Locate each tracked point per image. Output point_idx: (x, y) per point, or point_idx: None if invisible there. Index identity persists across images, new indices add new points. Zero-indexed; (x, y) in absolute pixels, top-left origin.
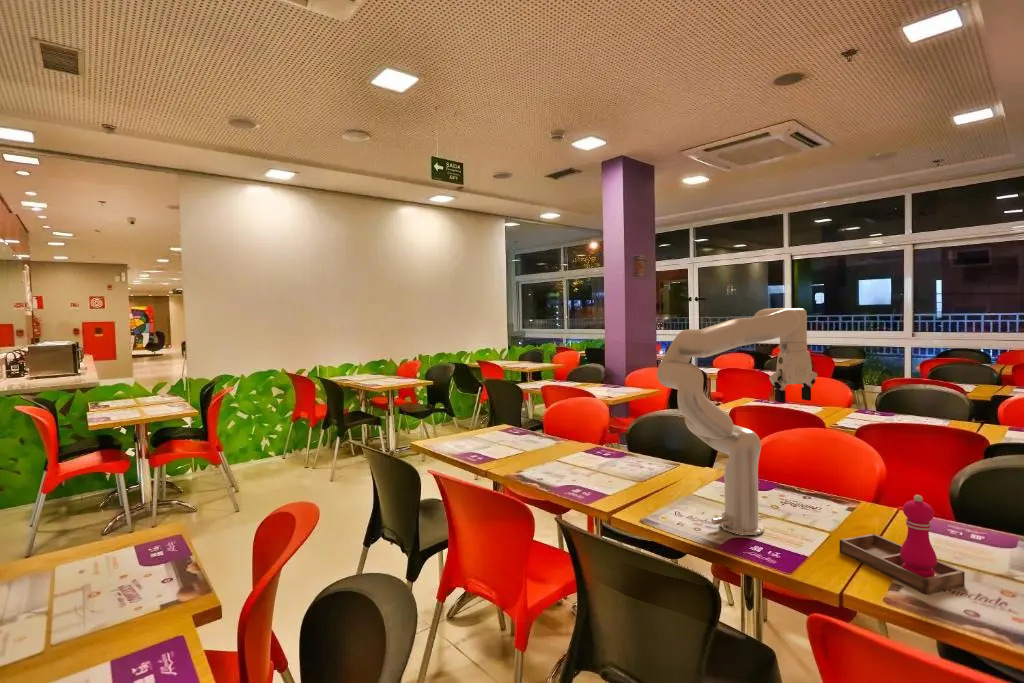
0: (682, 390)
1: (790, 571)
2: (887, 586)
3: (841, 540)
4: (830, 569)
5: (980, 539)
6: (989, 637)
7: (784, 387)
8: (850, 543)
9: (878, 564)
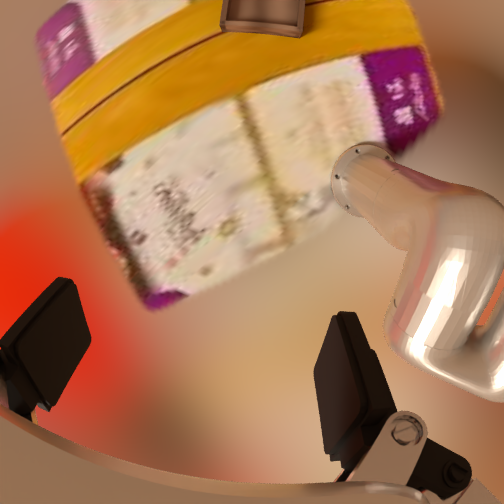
0: None
1: (415, 48)
2: None
3: (302, 29)
4: (362, 18)
5: (70, 24)
6: None
7: (379, 446)
8: (298, 16)
9: None
